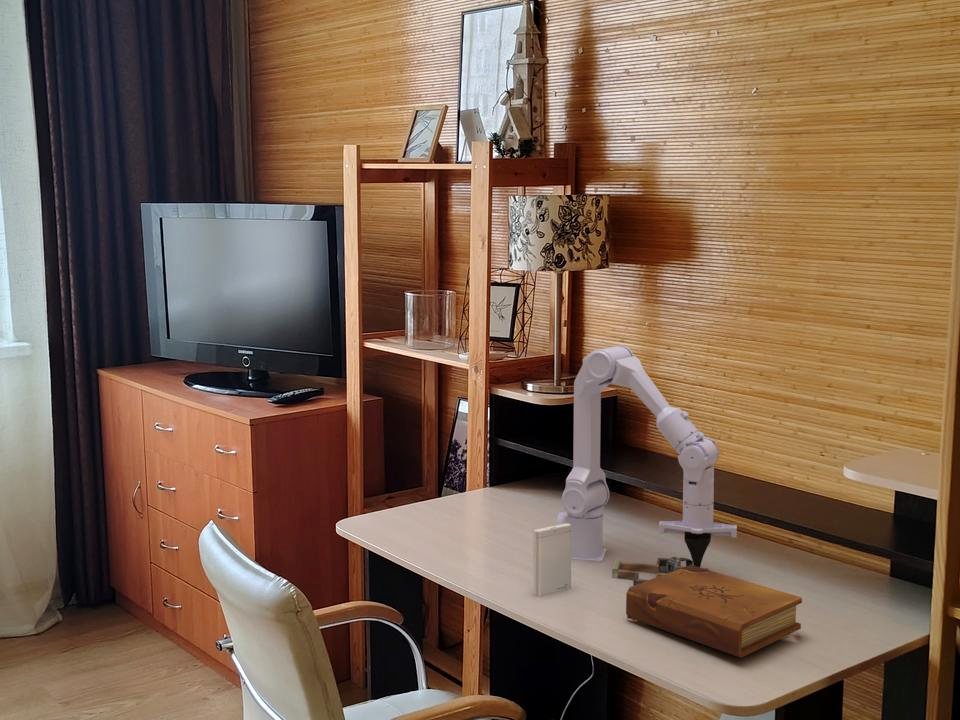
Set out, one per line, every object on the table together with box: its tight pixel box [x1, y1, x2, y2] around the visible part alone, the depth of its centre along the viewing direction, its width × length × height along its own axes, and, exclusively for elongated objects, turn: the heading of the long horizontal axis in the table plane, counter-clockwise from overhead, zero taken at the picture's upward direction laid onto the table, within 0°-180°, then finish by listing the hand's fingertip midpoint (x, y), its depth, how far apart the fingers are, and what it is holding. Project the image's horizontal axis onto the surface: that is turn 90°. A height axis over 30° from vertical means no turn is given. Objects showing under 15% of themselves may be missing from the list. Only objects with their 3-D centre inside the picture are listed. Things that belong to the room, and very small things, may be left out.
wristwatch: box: [666, 556, 694, 574], centre depth 204 cm, size 3×5×5 cm, turn 111°
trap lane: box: [611, 557, 709, 586], centre depth 205 cm, size 18×15×2 cm
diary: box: [625, 565, 803, 659], centre depth 182 cm, size 23×19×6 cm
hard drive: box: [533, 523, 572, 598], centre depth 196 cm, size 2×8×12 cm, turn 125°
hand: (697, 570), depth 203 cm, fingers closed
